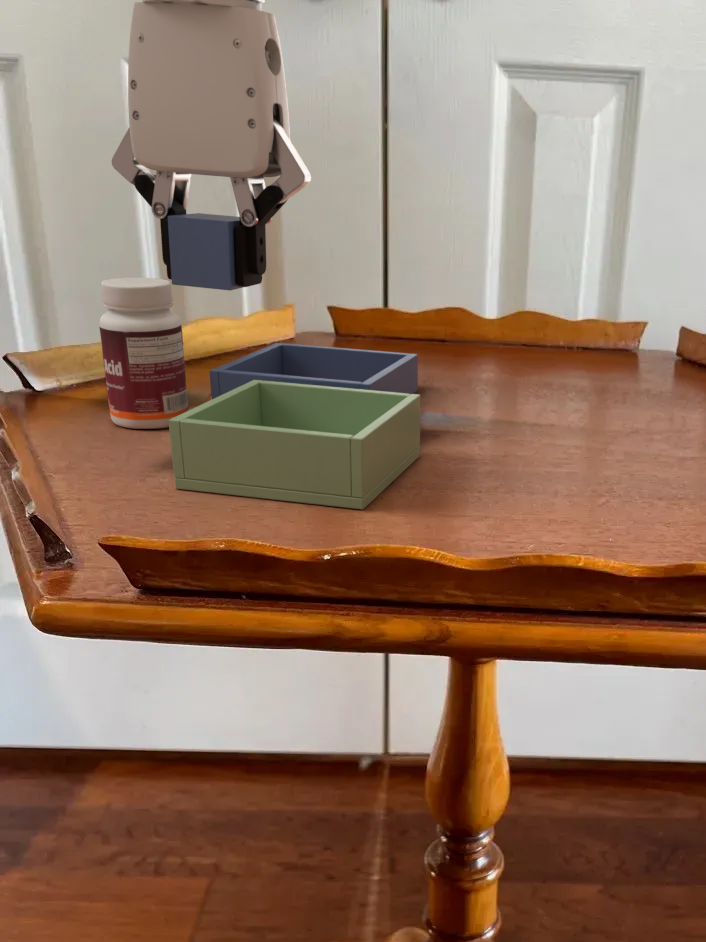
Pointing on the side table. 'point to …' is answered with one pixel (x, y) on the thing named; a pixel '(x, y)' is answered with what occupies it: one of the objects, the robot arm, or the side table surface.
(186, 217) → the block
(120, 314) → the pill bottle
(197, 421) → the bin green
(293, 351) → the bin blue
